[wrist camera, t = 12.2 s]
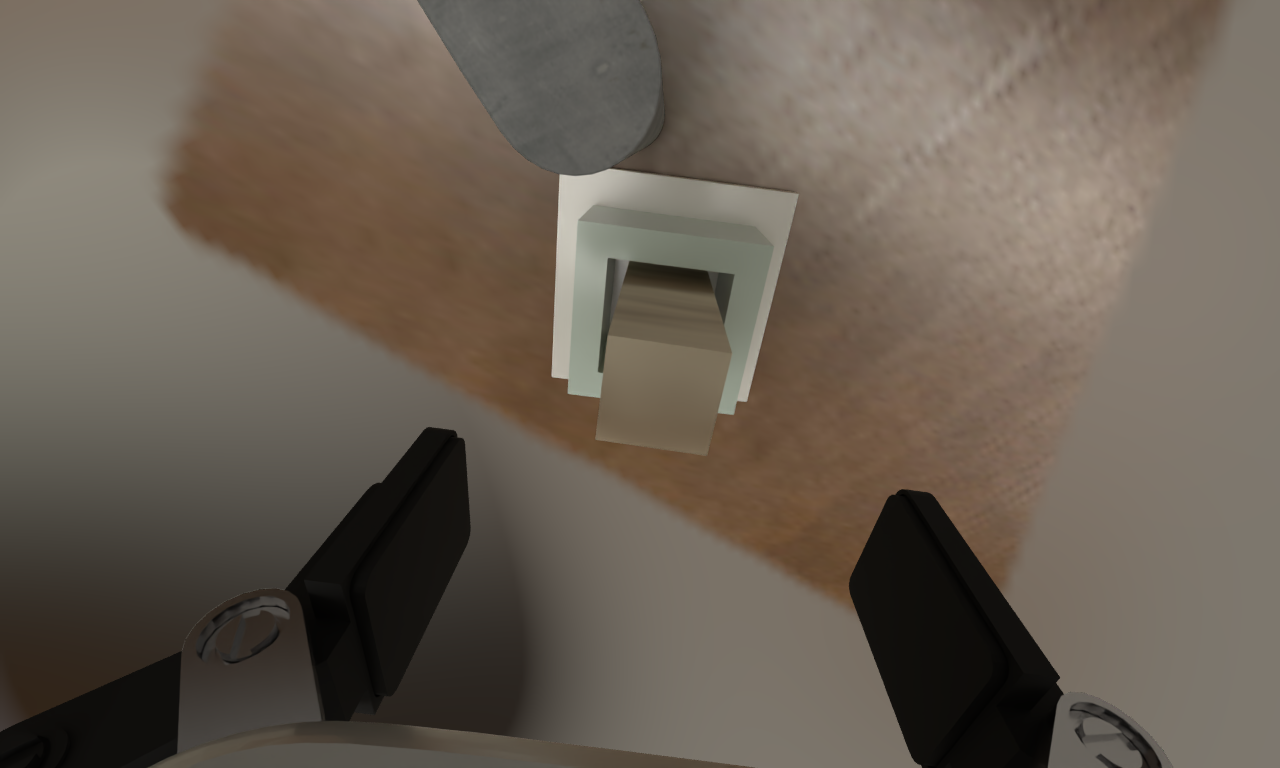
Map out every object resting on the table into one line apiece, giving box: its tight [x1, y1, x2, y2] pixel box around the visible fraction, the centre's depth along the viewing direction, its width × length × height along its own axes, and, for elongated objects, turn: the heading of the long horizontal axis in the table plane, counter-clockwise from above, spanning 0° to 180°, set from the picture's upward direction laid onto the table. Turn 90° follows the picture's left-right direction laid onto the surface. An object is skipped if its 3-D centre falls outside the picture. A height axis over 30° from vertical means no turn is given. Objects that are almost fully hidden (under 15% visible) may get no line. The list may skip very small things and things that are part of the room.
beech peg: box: [595, 261, 732, 456], centre depth 22 cm, size 4×4×12 cm
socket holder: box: [552, 168, 799, 415], centre depth 25 cm, size 12×12×6 cm
